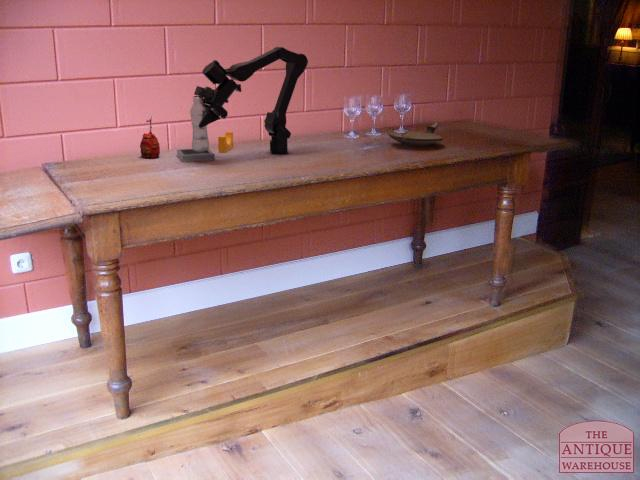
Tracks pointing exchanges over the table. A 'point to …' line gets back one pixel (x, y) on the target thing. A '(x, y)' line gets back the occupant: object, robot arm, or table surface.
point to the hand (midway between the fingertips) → (196, 125)
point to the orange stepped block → (225, 142)
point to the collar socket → (195, 155)
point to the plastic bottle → (199, 134)
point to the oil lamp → (418, 137)
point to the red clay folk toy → (149, 144)
